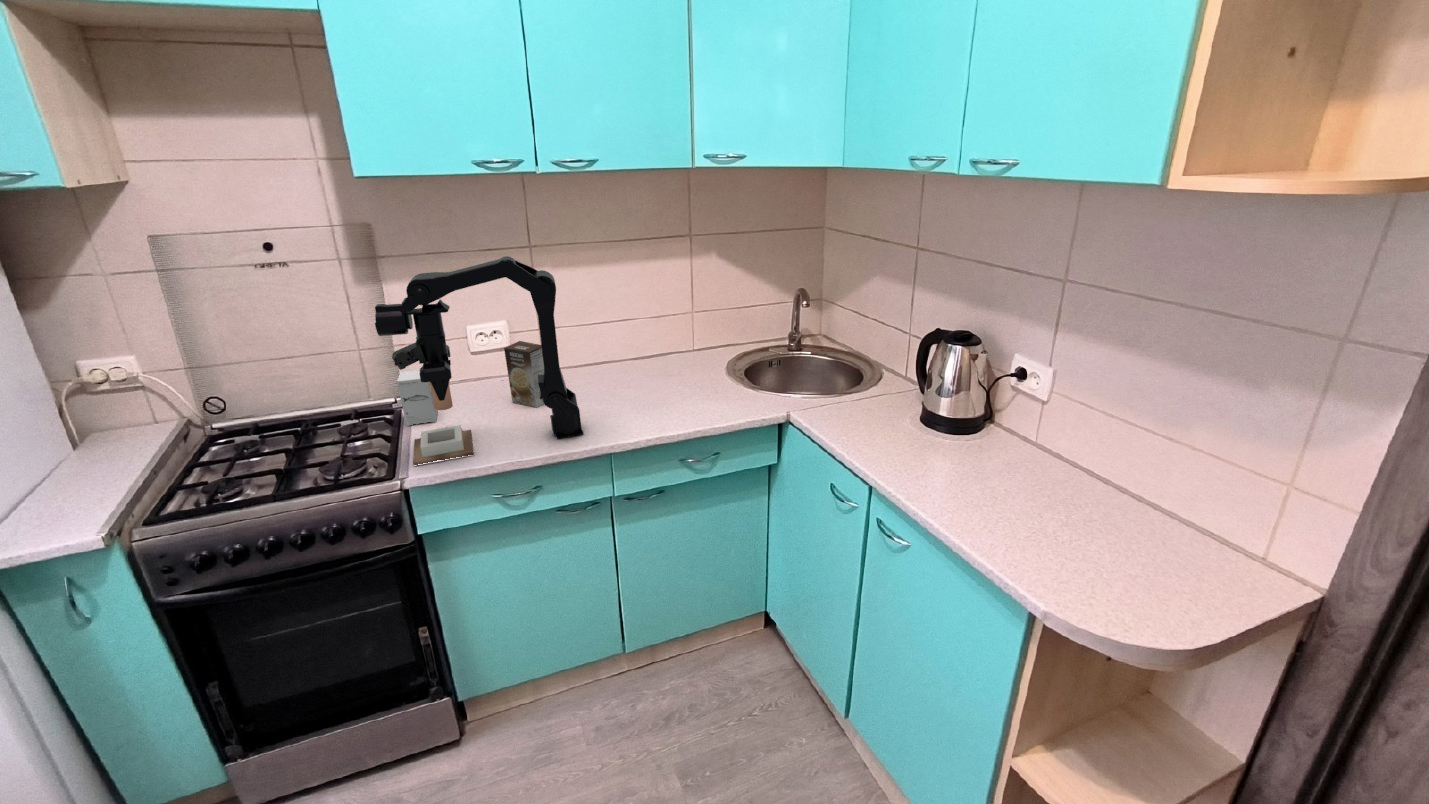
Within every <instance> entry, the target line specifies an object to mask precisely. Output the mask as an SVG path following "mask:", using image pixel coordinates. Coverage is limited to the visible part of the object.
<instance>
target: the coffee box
mask: <svg viewBox="0 0 1429 804" xmlns="http://www.w3.org/2000/svg"><path fill="white" fill-rule="evenodd" d="M503 350H504V357H505V362H506V369H507V376H508V382H509V389H510V394H511V402H512V403H515V404H519V405H523V406H527V407H532V408H539V407H541V406H543V405H545V404H544V402H543V398H542V399H540V391H539V385H538V375H544V362H543V354H542V346H541V344H537V343H532V342H527V341H522V340H519V341H516V342H514V343H510V344H509V345H507V346H505V347H503Z"/></svg>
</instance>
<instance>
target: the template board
mask: <svg viewBox="0 0 1429 804" xmlns="http://www.w3.org/2000/svg"><path fill="white" fill-rule="evenodd" d="M471 433H472V430H471V429H467V430H466V429H465V430H463V429H462V425H461V424H460V425H454V426H447V427H442V428H441V427H440V428H436V429H429V430H425V431H424V430H423V431H420V438H415V439H414V442H413V443H414V444H413V457H412V459H413V460H412V464H413V465H412V466H414V465H418V464H423V463H428V462H433V461H437V460H445V459H450V458H456V457H462V456H468V455H474V456H475V453H474V452H475V451H474V445H473V444H474V443H472V442H473V436H472V434H471ZM473 451H474V452H473Z"/></svg>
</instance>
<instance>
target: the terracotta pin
mask: <svg viewBox="0 0 1429 804" xmlns="http://www.w3.org/2000/svg"><path fill="white" fill-rule="evenodd" d="M430 387H431V392H432V398H433V403H434V408H435V409H436V410H438V411H447V410H450V409H451V408H453V405H454V404H453V399H452V393H451V388H450V383H449V384H448V388H447V392H446V396H445V400H443V401H439V399H438V397H437V395H436V392H435V390H434V388H433V386H432V384H431V382H430Z"/></svg>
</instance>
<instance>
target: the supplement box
mask: <svg viewBox="0 0 1429 804" xmlns="http://www.w3.org/2000/svg"><path fill="white" fill-rule="evenodd" d="M396 383H397V389H398V392H399V397H400V401H401V406H402V409H403V414H404V418H405V419H404V420H405V425H406V427H410V426H413V424H416V425H420V424H419V423H424V424H427V423H426V422H434V423H436V422H437V419H438V415H437V413H439V410H436V409H435V408H434V403H433V398H432V392H431V387H430V382H421V379H420V369H417V370H416V369H415V370H409V371H408V370H407V371H401V372H399V375H398V378H397V379H396ZM436 418H437V419H436ZM435 421H436V422H435Z"/></svg>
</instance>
